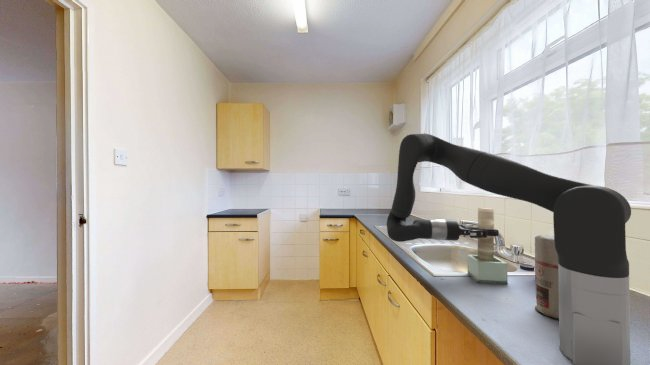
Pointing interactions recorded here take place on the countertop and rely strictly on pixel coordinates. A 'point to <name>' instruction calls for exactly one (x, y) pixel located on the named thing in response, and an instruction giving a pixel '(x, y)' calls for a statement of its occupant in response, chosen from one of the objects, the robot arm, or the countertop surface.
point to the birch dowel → (487, 243)
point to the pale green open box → (487, 270)
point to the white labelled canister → (547, 276)
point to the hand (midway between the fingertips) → (493, 231)
